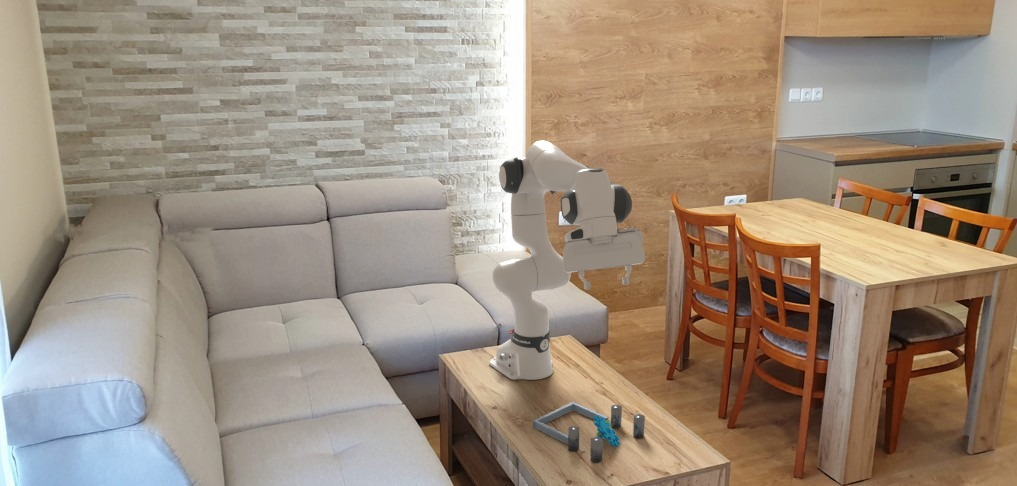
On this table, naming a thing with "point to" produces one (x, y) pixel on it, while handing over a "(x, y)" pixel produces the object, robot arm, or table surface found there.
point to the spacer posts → (598, 441)
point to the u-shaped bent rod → (541, 421)
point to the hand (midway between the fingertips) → (607, 286)
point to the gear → (606, 431)
